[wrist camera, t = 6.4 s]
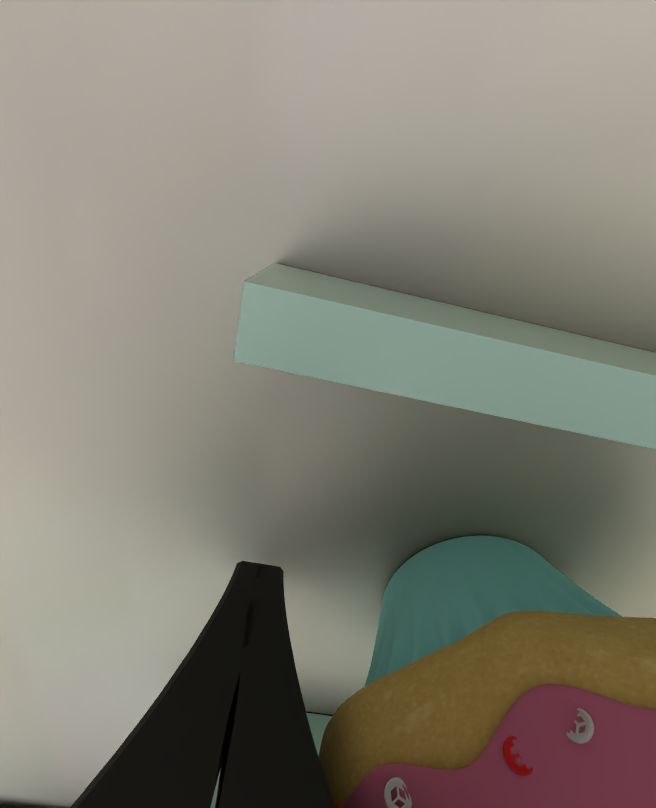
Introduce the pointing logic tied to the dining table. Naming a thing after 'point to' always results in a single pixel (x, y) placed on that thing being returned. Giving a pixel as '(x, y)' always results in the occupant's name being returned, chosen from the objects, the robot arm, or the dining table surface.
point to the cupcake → (497, 691)
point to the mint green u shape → (443, 360)
